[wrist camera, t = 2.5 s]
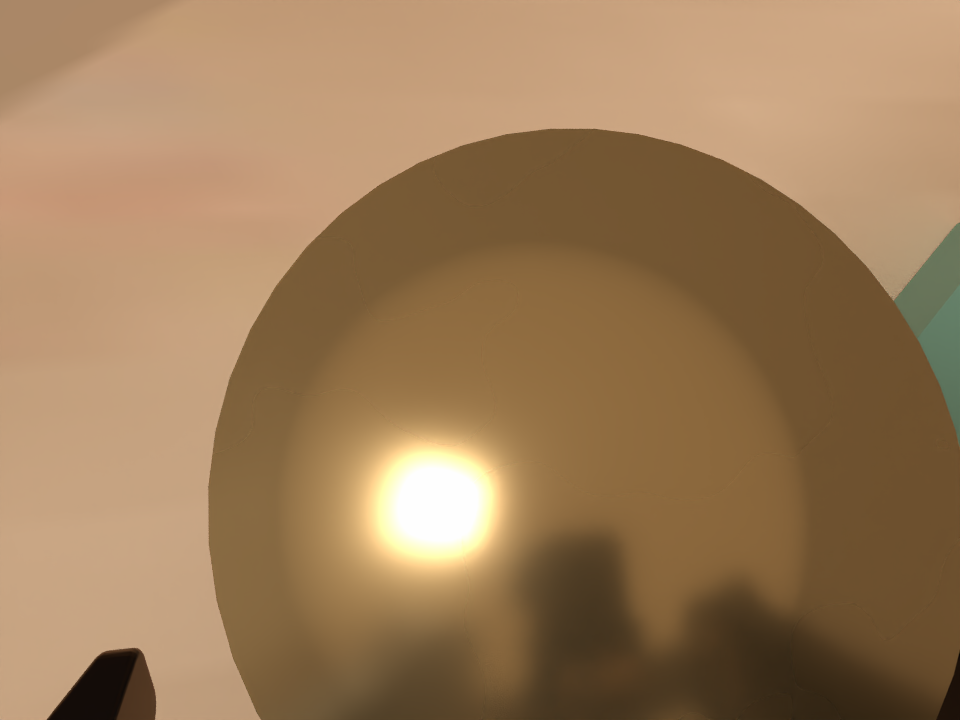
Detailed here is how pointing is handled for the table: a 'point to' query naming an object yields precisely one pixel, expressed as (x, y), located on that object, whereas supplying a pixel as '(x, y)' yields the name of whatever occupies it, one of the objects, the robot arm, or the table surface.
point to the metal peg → (585, 456)
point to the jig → (938, 317)
